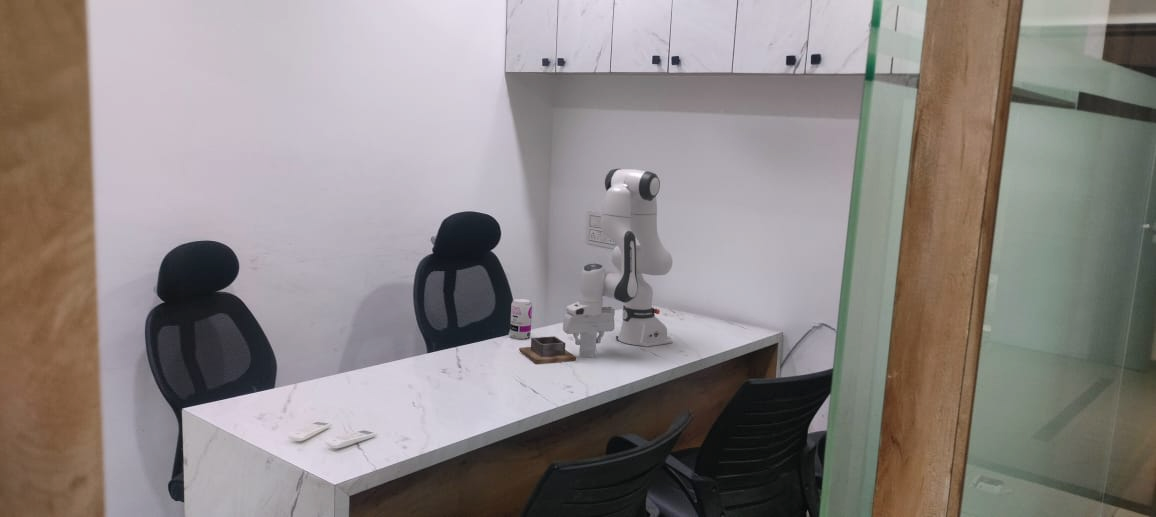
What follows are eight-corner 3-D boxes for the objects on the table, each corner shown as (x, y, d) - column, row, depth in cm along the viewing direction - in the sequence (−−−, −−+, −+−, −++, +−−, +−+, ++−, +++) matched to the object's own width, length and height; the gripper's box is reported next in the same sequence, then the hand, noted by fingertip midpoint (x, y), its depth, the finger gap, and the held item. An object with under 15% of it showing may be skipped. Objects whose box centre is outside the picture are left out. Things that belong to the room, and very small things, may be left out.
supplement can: (531, 335, 320) (533, 299, 318) (528, 340, 312) (530, 303, 310) (512, 333, 321) (513, 297, 319) (508, 338, 313) (510, 301, 311)
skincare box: (594, 354, 299) (597, 323, 297) (595, 357, 295) (597, 326, 293) (578, 353, 299) (580, 322, 297) (579, 356, 295) (581, 325, 293)
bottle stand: (558, 348, 304) (558, 333, 303) (576, 360, 289) (577, 345, 288) (519, 351, 297) (520, 336, 296) (535, 364, 282) (536, 347, 281)
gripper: (610, 304, 301) (608, 339, 304) (562, 306, 292) (560, 343, 295) (618, 308, 296) (616, 344, 298) (569, 311, 287) (567, 347, 289)
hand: (587, 343), depth 296 cm, fingers closed on skincare box, 7 cm apart
